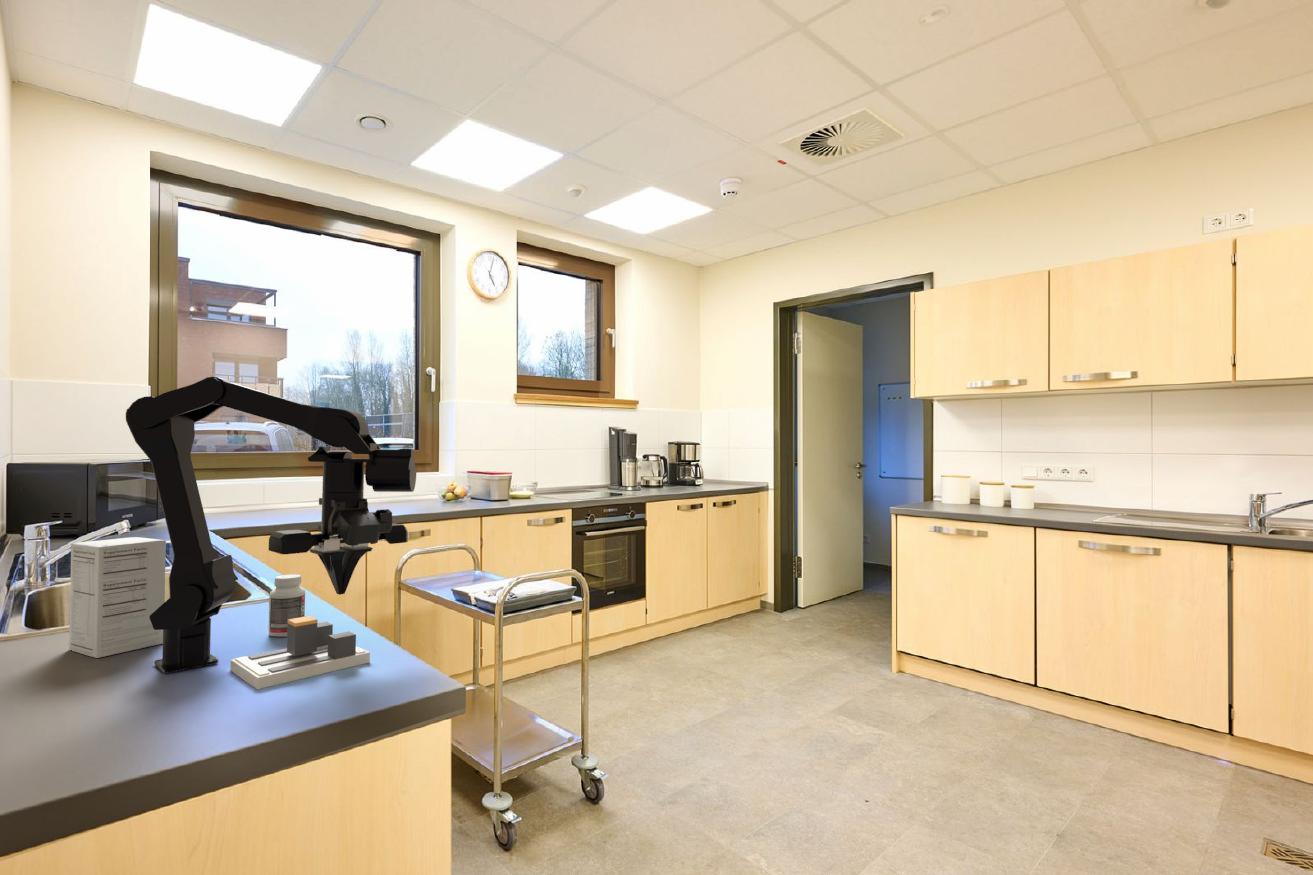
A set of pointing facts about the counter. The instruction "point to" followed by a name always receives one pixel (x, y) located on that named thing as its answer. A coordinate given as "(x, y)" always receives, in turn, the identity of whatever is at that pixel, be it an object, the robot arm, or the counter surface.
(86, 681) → the counter surface
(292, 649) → the block
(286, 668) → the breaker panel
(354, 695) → the counter surface
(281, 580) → the pill bottle
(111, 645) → the supplement box
